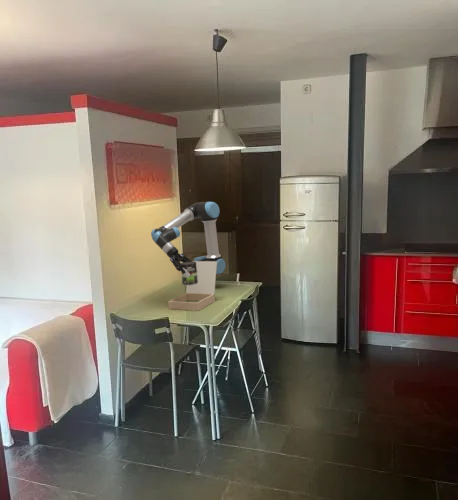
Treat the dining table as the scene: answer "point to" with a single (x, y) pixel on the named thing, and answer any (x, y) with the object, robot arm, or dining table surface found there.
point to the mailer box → (198, 289)
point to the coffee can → (192, 271)
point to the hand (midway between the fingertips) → (193, 274)
